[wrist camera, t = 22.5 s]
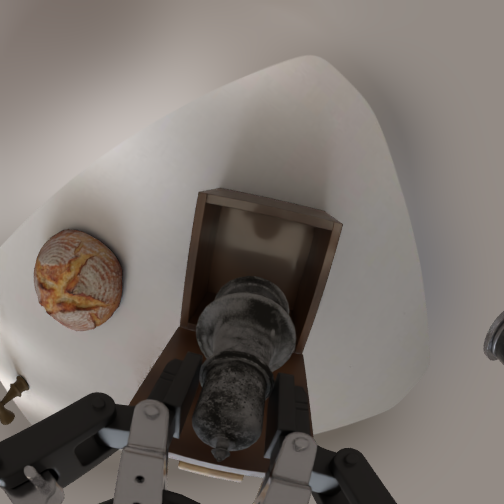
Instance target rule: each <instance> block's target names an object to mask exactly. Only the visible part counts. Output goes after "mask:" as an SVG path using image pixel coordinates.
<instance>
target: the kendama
mask: <svg viewBox="0 0 504 504" xmlns="http://www.w3.org/2000/svg"><path fill="white" fill-rule="evenodd" d="M25 390H29V387H28V384H27V383H26V381H25V380H24V379H23V378H22V377H20V376H17V381H16V382H15V383H14V384H10V390H9V391H8V393H7V394H6V396H5V397H4V398H3V400H2V401H0V421H1V423H2V424H3V425H8V424H9V423H11V422H12V421H13V419H14V417H15V415H14V413H13V412H11V411H9V410H7V409H6V408H4V405H5V404H6V403H7V402H9V401H10V400H11V399H13V398H15V397H17V396H19V397H21V393H22V392H23V391H25Z"/></svg>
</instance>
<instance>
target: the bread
mask: <svg viewBox="0 0 504 504" xmlns="http://www.w3.org/2000/svg"><path fill="white" fill-rule="evenodd" d="M34 285H35V290H36V293H37V296H38V300H39V303H40V304H41V306H44V308H45V310H46V312H47V313H48V314H49V315H50V316H52V317H53V318H54V319H55V320H57V321H58V322H60V323H61V324H62V325H64V326H66V327H67V328H70V329H72V330H75V331H87V330H90V329H95V328H96V326H100V325H101V324H103V323H104V322H106V321H107V320H108V319H109V318H110V317H111V316H112V315H113V312H114V311H115V310H116V309H117V308H118V307H119V304H120V300H121V296H122V269H121V266H120V264H119V261H118V260H117V258H116V256H115V255H114V254H113V252H112V251H111V250H110V249H109V248H108V247H107V246H105V245H104V244H103V243H102V242H100V241H99V240H98V239H95V238H93V237H92V236H90V235H88V234H86V233H84V232H82V231H78V230H70V229H67V230H63V231H61V232H59V233H58V234H56V235H54V236H53V237H51V238H50V239H49V240H48V241H47V242H46V243H45V244H44V245H43V247H42V248H41V250H40V252H39V254H38V257H37V260H36V264H35V268H34Z"/></svg>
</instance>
